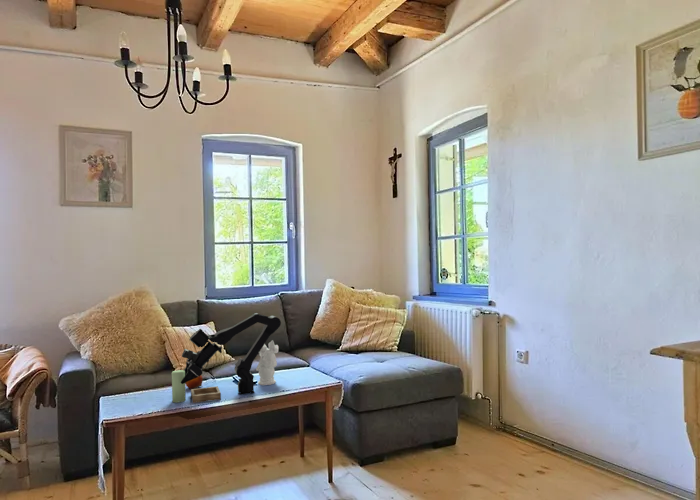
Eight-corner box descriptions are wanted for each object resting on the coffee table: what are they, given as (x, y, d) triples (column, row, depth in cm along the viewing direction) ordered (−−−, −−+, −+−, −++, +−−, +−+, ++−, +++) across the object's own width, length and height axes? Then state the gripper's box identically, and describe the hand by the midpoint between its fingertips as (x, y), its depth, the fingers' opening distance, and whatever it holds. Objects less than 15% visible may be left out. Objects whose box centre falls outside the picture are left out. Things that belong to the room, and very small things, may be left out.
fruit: (201, 387, 246) (193, 372, 247) (188, 395, 247) (180, 380, 248) (209, 382, 254) (201, 368, 254) (197, 390, 255) (189, 376, 256)
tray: (217, 392, 241) (217, 386, 241) (220, 399, 229) (220, 392, 229) (191, 395, 236) (190, 389, 236) (192, 403, 225) (192, 396, 225)
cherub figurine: (253, 383, 256) (251, 339, 256) (272, 378, 266) (270, 335, 266) (269, 386, 248) (267, 341, 248) (288, 381, 258) (286, 337, 258)
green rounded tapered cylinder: (185, 398, 233) (184, 369, 233) (185, 401, 228) (185, 372, 228) (172, 399, 231) (171, 371, 231) (172, 403, 226) (171, 373, 226)
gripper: (191, 339, 240) (166, 365, 236) (194, 346, 223) (167, 374, 219) (208, 354, 243) (184, 380, 239) (213, 362, 226) (187, 390, 222)
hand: (180, 380), depth 230 cm, fingers open, 9 cm apart
